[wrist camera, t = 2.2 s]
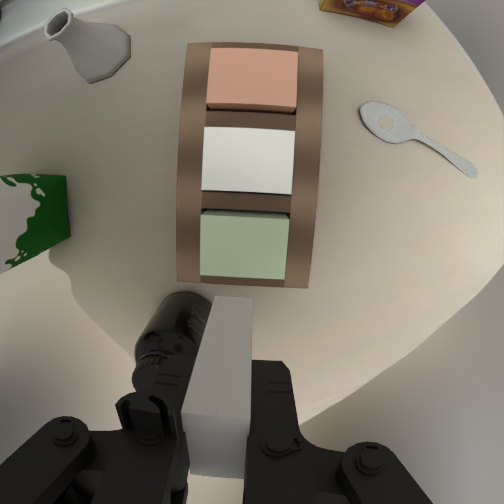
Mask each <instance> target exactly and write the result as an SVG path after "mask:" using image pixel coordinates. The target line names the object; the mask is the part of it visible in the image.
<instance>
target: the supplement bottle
mask: <svg viewBox="0 0 504 504" xmlns="http://www.w3.org/2000/svg"><path fill="white" fill-rule="evenodd" d="M211 308H212V307H211V305H210V304H209V303H208V302H207V301H206V300H205V299H203V298H202V297H200V296H198V295H195V294H192V293H187V292H180V293H175V294H172V295H170V296H169V297H167V298H166V299H165V300H164V301H163V302H162V303H161V304H160V306H159V307H158V309H157V310H156V312H155V314H154V315H153V317H152V318H151V320H150V321H149V323H148V324H147V326H146V328H145V329H144V331H143V332H142V334H141V336H140V337H139V339H138V341H137V343H136V346H135V351H134V355H135V361H136V368H135V370H134V372H133V374H132V375H133V376H132V383H133V387H134V388H135V390H136V392H137V391H150V389H151V387H152V385H153V384H154V380H155V378H156V376H157V375H158V371H159V369H160V367H161V364H162V362H164V361H165V360H166V359H167V358H168V357H170V356H171V355H172V354H175V355H183V356H193V357H197V354H198V351H199V348H200V344H201V341H202V338H203V334H204V331H205V328H206V324H207V321H208V318H209V314H210V311H211Z"/></svg>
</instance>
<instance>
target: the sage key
mask: <svg viewBox="0 0 504 504" xmlns="http://www.w3.org/2000/svg"><path fill="white" fill-rule="evenodd" d="M288 232H289V218H288V217H287V216H286V214H285V213H281V212H264V211H246V210H225V209H207V210H206V211H205V212H204V213H203V214H201V224H200V275H209V276H226V277H244V278H263V279H284V278H285V267H286V256H287V244H288Z"/></svg>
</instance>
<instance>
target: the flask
mask: <svg viewBox="0 0 504 504" xmlns="http://www.w3.org/2000/svg"><path fill="white" fill-rule="evenodd" d="M43 35H44V36H45V37H46V38H47V39H48V40H50V41H52V40H54V39H55V40H57V41H59V42H60V43H62V44H63V45H64V47H65V49H66V50H67V52H68V54H69V56H70V58H71V60H72V62H73V64H74V66H75V68H76V70H77V71H78V72H79V73H80V74H81V75H82V77H83V78H84V79H85V80H86V81H87V82H88V83H89V84H90V83H93V82H95V81H98V80H101V79H104V78H107V77H110V76H112V75H113V74H114V73H115V72H116V70H117V69H118V68H119V67H120V66H121V65H122V64H123V63H124V62H125V61H126V60H127V59H128V58H129V57H130V36H129V35H128V34H127V33H125V32H124V31H123V30H122V29H120V28H119V27H118V26H117V25H111V24H100V23H92V22H85V21H82V20H79V19H76V18H74V17H73V13H72V12H71V11H69V10H68V9H67V8H64V9H62V10H60V11H58V12H56V13H54V14H53V15H52V16H51V17H50V19H49V20H48V21H47V22H46V23H45V26H44V32H43Z"/></svg>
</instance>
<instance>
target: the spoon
mask: <svg viewBox="0 0 504 504" xmlns="http://www.w3.org/2000/svg"><path fill="white" fill-rule="evenodd" d="M360 113H361V117H362V120H363V122H364V123H365V125H366V126H367V127H368V128H369V129H370V131H371V132H372V133H374V134H375V135H376V136H377V137H378V138H380V139H382V140H384V141H385V142H389V143H393V144H397V143H403V142H405V141H407V140H411V139H417V140H420V141H422V142H424V143H425V144H427V145H429V146H431V147H432V148H434V149H435V150H437V151H438V152H440V153H441V154H442V155H444V156H445V157H446V158H447V159H448V160H449V161H450V162H451V163H453V164H454V165H455V166H456V167H457V168H458V169H459V170H460V171H462V172H463V173H464V174H466V175H467V176H468V177H470V178H476V177H477V176H478V172H477V169H476V168H475V166H474V165H473V164H472V163H471V162H470V161H468V160H466V159H465V158H463V157H461V156H459V155H458V154H456V153H454V152H452V151H450V150H448V149H446V148H444V147H442V146H440V145H439V144H437V143H435V142H433V141H432V140H430V139H429V138H427V137H426V136H424V135H423V134H422V133H420V132H419V131H418V130H417V129H416V128H415V127H414V126H413V125H412V123H411V122H410V120H409V119H408V118H407V117H406V116H405V115H404V114H403V113H402V112H401V111H399V110H398V109H396V108H395V107H392V106H390V105H388V104H384V103H381V102H374V101H371V102H367V103H365V104H363V105H362V106H361V107H360ZM381 116H387V117H390V118H391V119H392V121H393V127H392V128H391V129H390V130H389V131H387V130H385V129H384V128H382V127H381V126H380V124H379V119H380V118H381Z"/></svg>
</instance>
